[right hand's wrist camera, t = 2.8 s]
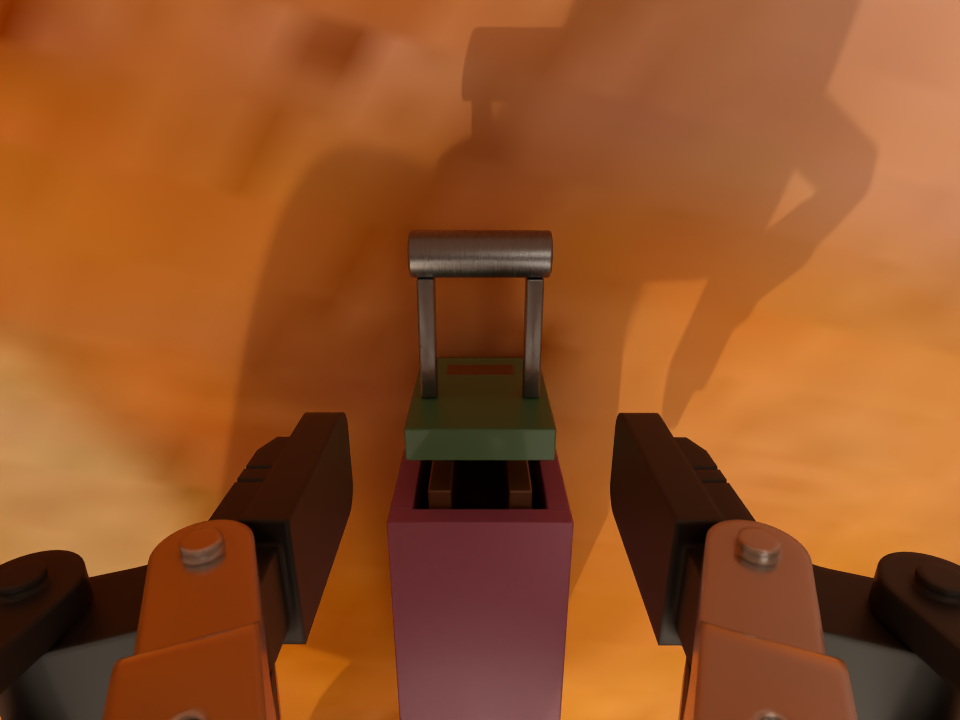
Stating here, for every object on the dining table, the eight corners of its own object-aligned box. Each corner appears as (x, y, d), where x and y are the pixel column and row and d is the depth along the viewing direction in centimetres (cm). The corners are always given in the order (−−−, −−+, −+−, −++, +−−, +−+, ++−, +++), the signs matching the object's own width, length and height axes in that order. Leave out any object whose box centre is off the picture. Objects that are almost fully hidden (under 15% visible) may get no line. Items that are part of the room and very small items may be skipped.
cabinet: (412, 411, 28) (386, 522, 20) (547, 411, 28) (574, 522, 20) (424, 675, 33) (407, 841, 26) (535, 675, 33) (552, 841, 26)
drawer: (416, 214, 24) (394, 244, 17) (543, 214, 24) (566, 244, 17) (432, 630, 31) (420, 754, 25) (527, 630, 31) (539, 754, 25)
